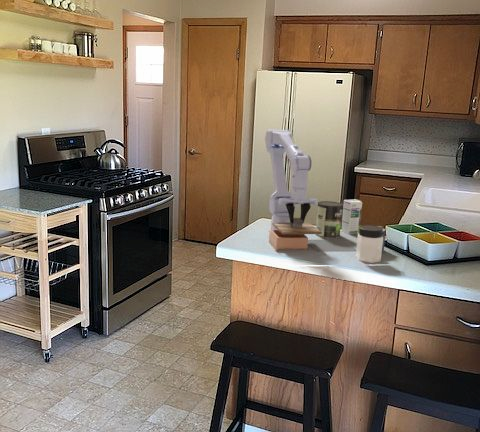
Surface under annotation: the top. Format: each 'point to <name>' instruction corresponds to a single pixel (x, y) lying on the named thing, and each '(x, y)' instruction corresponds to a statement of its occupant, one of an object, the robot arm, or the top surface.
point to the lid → (296, 227)
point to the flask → (383, 237)
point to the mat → (330, 245)
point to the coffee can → (329, 219)
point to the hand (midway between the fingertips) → (296, 222)
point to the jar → (369, 243)
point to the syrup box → (351, 216)
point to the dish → (287, 240)
